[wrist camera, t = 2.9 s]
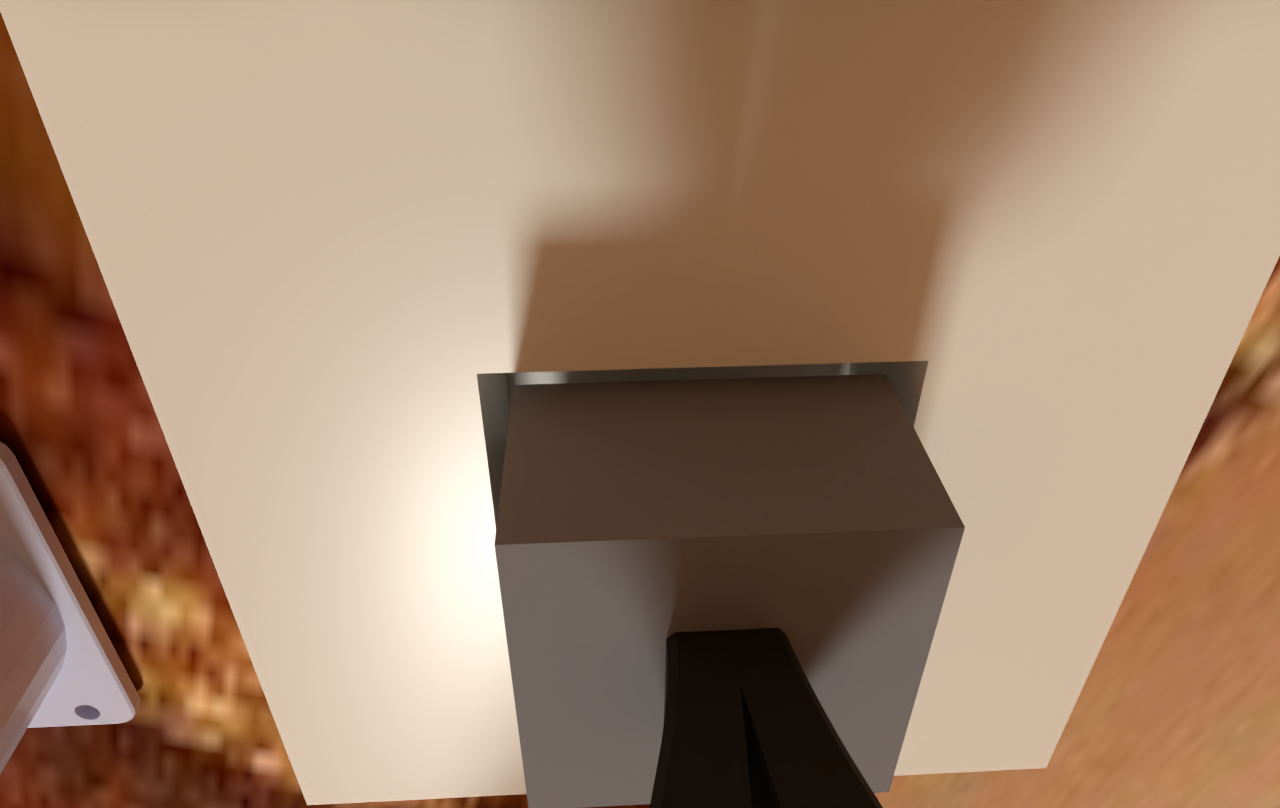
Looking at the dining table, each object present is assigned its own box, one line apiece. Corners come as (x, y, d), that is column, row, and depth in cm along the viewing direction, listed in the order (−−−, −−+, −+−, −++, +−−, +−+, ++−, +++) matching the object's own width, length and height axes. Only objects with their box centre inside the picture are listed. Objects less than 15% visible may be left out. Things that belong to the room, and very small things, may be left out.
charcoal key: (537, 637, 15) (528, 810, 12) (512, 385, 12) (495, 544, 9) (837, 624, 15) (888, 792, 12) (885, 374, 12) (964, 527, 9)
